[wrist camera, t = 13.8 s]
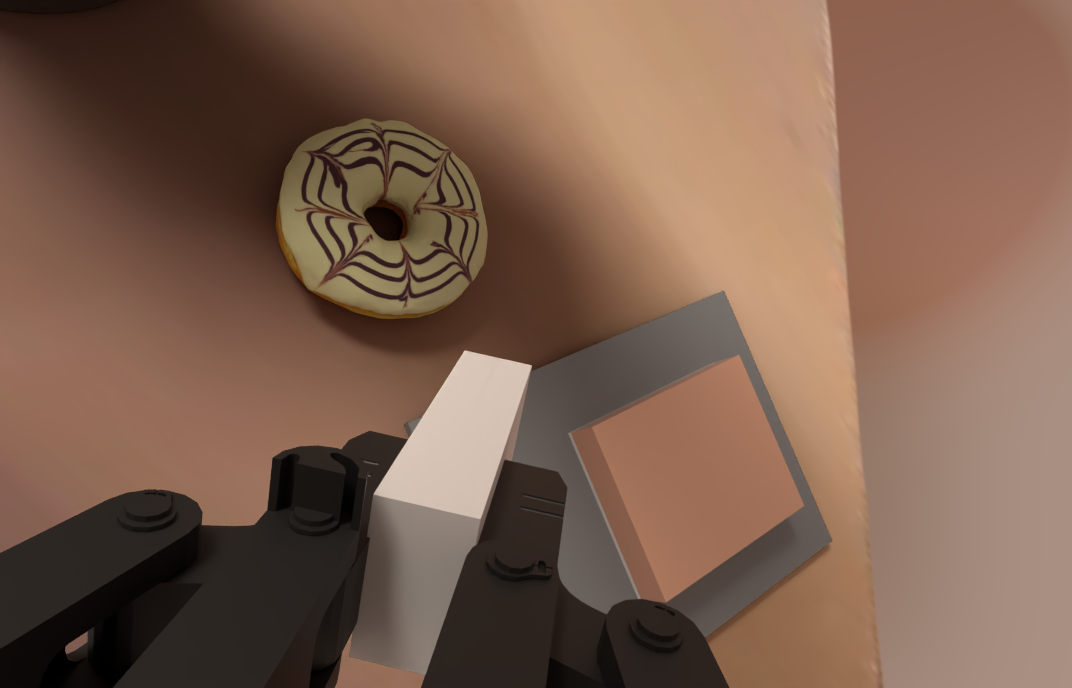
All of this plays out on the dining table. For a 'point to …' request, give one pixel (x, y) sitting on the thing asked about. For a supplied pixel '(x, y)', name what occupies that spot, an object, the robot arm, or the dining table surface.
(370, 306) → the decorated donut
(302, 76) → the dining table surface
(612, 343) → the slate mat
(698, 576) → the terracotta tile
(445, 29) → the dining table surface
